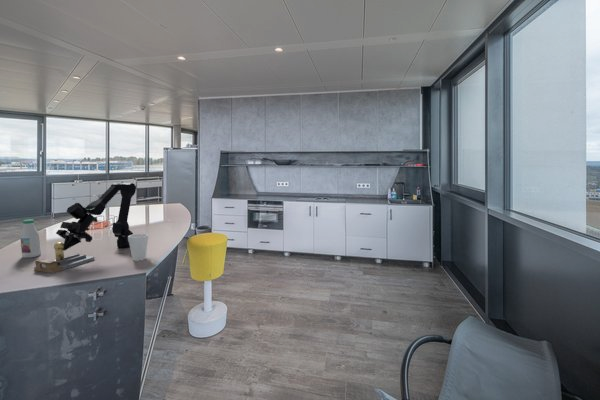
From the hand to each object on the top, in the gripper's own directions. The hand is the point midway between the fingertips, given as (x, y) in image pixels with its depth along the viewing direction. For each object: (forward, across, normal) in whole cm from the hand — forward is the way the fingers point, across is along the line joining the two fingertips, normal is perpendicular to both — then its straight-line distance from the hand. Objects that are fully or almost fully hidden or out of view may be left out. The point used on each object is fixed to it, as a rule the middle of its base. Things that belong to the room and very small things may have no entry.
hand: (63, 250), depth 152 cm
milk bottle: (+2, -31, +9) cm, 32 cm away
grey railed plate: (+5, 0, +6) cm, 8 cm away
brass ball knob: (+7, 0, +1) cm, 8 cm away
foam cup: (-9, +27, +20) cm, 35 cm away
